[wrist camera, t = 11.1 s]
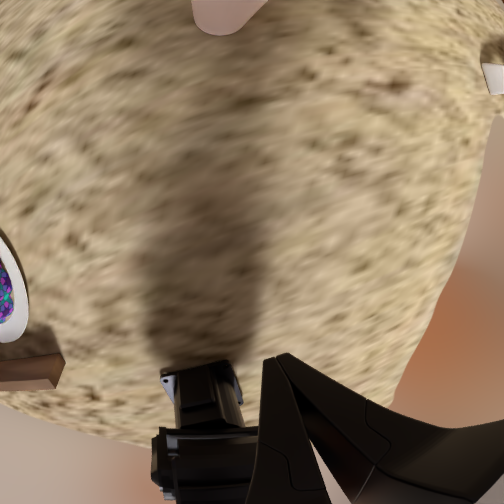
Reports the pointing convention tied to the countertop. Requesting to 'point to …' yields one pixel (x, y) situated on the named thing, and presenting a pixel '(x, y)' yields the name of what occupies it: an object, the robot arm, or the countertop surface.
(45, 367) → the bay
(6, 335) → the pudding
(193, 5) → the smoothie
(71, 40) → the countertop surface
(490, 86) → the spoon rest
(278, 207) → the countertop surface
